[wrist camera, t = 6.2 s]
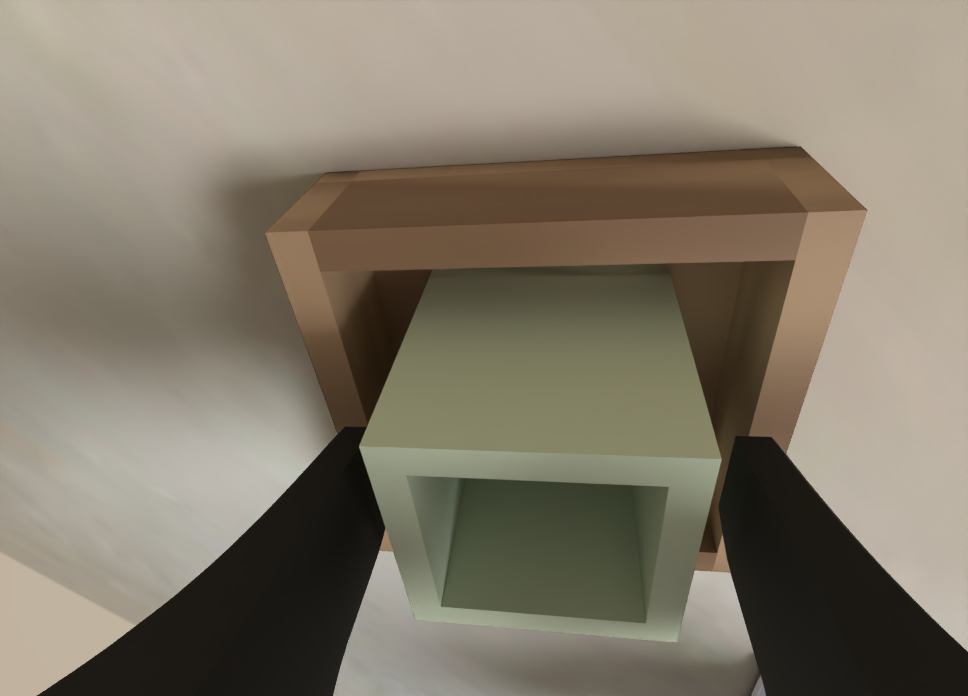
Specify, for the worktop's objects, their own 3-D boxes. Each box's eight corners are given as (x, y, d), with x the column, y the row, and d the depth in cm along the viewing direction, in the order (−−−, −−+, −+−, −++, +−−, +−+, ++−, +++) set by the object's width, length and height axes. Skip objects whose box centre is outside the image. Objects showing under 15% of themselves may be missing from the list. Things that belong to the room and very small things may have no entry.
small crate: (645, 429, 15) (676, 642, 10) (460, 424, 15) (415, 619, 11) (666, 260, 12) (721, 459, 7) (434, 264, 12) (358, 446, 8)
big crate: (720, 479, 16) (746, 573, 14) (406, 467, 18) (379, 550, 15) (800, 146, 10) (867, 210, 8) (325, 172, 12) (265, 232, 10)
